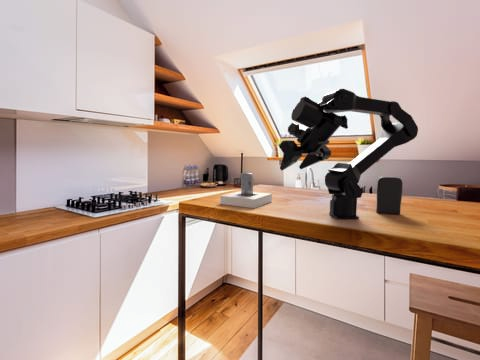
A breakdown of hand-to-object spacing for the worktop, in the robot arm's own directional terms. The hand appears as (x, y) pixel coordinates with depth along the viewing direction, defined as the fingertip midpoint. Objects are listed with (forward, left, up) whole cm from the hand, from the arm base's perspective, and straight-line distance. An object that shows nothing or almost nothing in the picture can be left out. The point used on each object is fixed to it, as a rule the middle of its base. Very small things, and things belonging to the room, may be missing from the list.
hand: (290, 168), depth 87 cm
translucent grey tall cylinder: (+13, -14, -14) cm, 23 cm away
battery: (-30, +5, -14) cm, 33 cm away
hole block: (+13, -14, -14) cm, 23 cm away
